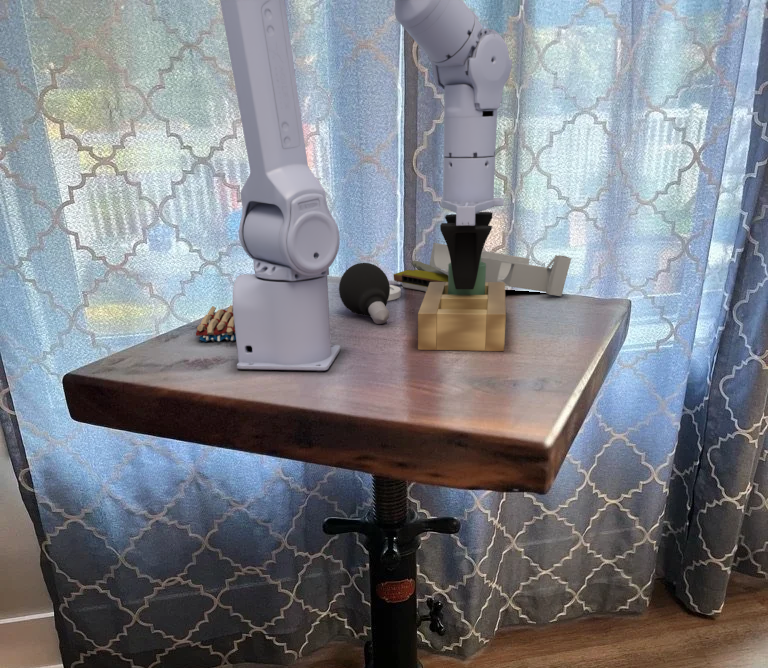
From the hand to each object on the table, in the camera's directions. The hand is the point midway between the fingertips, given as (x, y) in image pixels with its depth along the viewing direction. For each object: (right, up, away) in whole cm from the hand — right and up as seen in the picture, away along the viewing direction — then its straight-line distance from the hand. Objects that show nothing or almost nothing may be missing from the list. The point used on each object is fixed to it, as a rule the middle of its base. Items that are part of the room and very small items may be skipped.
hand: (465, 282), depth 93 cm
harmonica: (-3, +6, +18) cm, 19 cm away
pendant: (-12, +5, +18) cm, 22 cm away
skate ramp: (+6, +5, +17) cm, 19 cm away
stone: (-4, +9, +26) cm, 28 cm away
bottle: (0, -4, +2) cm, 5 cm away
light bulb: (-11, -3, +6) cm, 13 cm away
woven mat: (-26, -4, 0) cm, 27 cm away
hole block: (0, -6, -1) cm, 6 cm away
